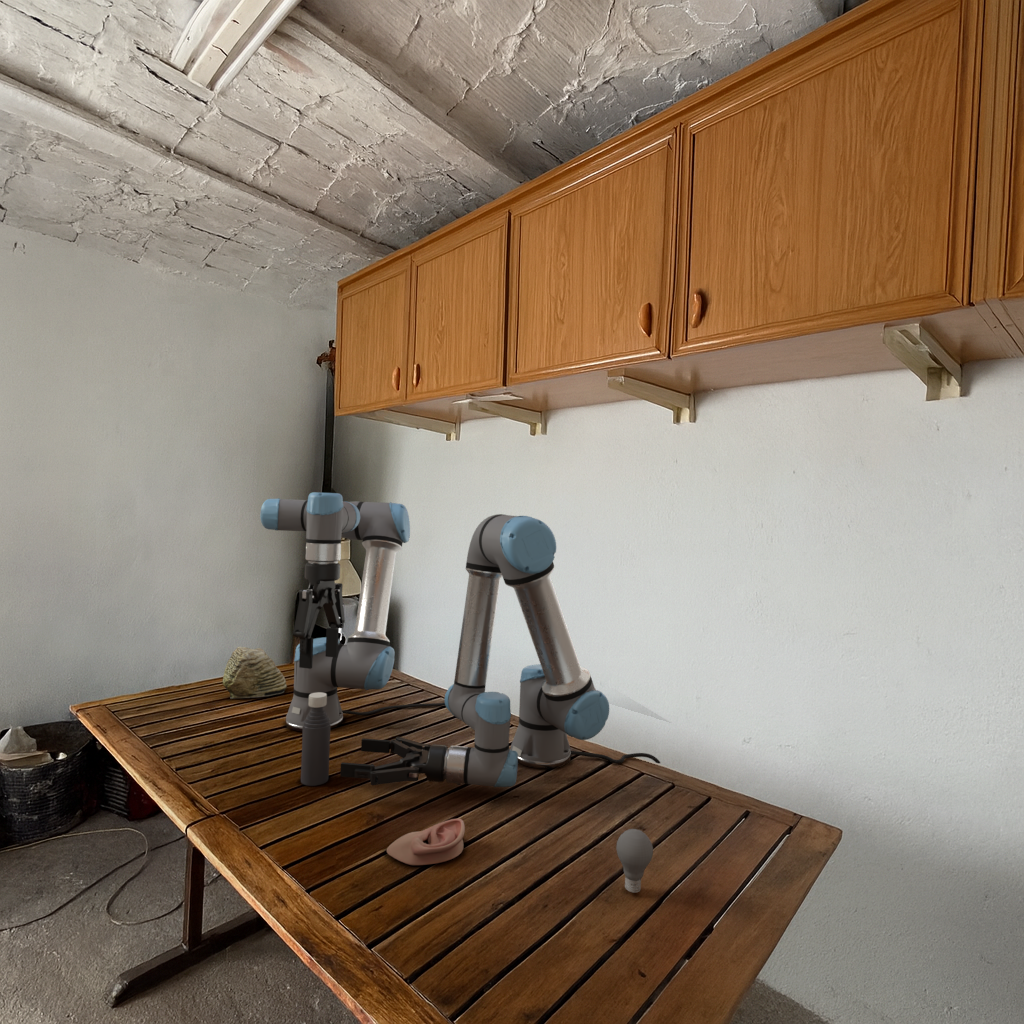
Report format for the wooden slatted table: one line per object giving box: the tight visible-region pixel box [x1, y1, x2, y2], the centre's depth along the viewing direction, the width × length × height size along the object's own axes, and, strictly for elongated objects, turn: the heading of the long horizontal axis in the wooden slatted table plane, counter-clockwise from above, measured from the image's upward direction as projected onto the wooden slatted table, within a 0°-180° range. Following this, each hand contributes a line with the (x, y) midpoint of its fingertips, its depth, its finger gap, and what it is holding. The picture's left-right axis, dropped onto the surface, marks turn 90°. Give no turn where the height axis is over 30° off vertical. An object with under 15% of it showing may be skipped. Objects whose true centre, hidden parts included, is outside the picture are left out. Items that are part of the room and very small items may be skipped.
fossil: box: [222, 646, 288, 699], centre depth 198 cm, size 9×18×15 cm, turn 132°
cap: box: [308, 692, 327, 708], centre depth 141 cm, size 4×4×2 cm
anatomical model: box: [386, 818, 466, 866], centre depth 115 cm, size 13×4×12 cm
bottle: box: [300, 706, 331, 787], centre depth 141 cm, size 6×6×19 cm
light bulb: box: [615, 828, 654, 894], centre depth 106 cm, size 6×6×10 cm
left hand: (319, 661), depth 141 cm, fingers open, 10 cm apart
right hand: (351, 756), depth 140 cm, fingers open, 13 cm apart
